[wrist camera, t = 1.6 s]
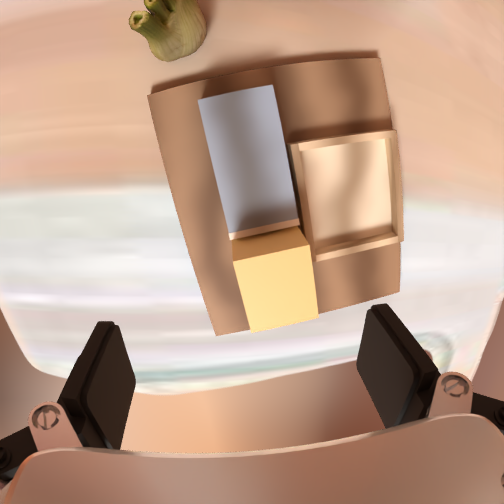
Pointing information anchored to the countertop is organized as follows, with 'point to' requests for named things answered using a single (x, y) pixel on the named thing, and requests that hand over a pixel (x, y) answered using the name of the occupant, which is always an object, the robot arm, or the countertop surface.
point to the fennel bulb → (170, 27)
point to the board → (299, 120)
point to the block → (275, 278)
